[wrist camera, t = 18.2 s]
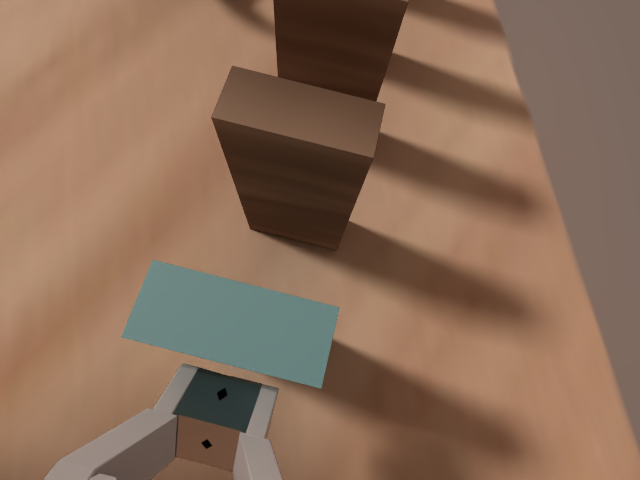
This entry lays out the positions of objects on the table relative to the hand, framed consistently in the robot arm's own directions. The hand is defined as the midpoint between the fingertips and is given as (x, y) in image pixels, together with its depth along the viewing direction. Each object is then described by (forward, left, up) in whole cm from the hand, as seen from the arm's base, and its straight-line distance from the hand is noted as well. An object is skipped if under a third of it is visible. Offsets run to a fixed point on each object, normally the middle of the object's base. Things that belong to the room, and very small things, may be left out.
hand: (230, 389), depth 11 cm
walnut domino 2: (+7, +4, -7) cm, 11 cm away
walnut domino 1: (+13, +7, -7) cm, 17 cm away
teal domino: (+2, +1, -7) cm, 8 cm away
